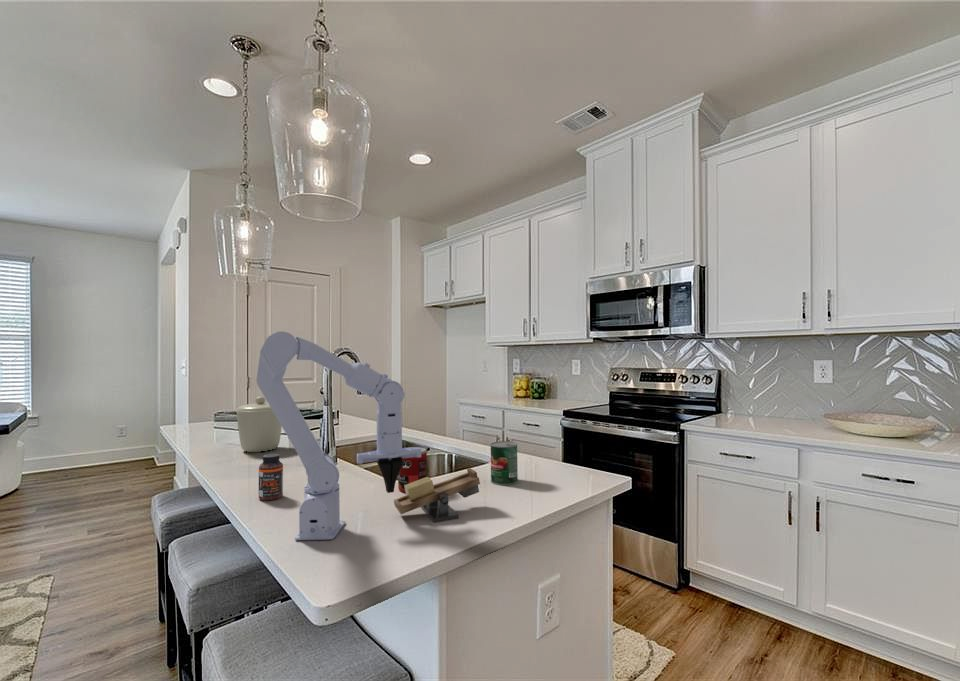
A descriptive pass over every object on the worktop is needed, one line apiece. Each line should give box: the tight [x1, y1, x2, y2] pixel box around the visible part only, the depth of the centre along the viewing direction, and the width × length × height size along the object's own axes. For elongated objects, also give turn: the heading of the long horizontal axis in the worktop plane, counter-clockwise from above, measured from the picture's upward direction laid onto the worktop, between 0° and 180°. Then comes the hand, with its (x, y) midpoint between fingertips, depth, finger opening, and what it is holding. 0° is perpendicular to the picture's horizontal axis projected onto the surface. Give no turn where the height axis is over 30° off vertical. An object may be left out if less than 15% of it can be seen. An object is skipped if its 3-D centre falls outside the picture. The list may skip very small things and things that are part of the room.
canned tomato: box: [489, 440, 519, 486], centre depth 135 cm, size 8×8×11 cm
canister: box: [234, 396, 283, 453], centre depth 182 cm, size 18×18×21 cm
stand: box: [420, 493, 460, 523], centre depth 110 cm, size 6×12×5 cm, turn 23°
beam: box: [393, 467, 481, 515], centre depth 110 cm, size 20×6×5 cm, turn 113°
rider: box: [404, 476, 435, 502], centre depth 109 cm, size 6×4×4 cm, turn 113°
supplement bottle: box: [258, 453, 284, 502], centre depth 123 cm, size 6×6×11 cm
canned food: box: [397, 446, 428, 494], centre depth 128 cm, size 8×8×11 cm
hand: (389, 491), depth 106 cm, fingers closed
